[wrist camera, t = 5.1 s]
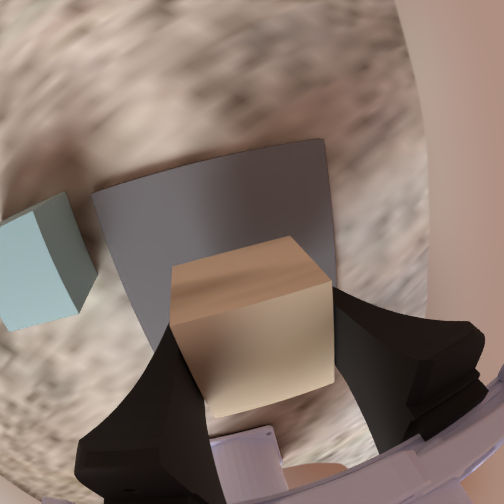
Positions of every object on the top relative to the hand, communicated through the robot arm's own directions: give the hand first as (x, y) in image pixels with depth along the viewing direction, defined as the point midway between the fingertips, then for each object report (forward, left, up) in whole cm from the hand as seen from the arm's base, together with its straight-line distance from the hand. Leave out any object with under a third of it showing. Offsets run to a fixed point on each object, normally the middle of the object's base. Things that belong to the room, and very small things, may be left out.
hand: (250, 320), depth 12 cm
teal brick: (+4, +10, -5) cm, 12 cm away
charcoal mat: (0, 0, -5) cm, 5 cm away
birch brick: (0, 0, -1) cm, 1 cm away
